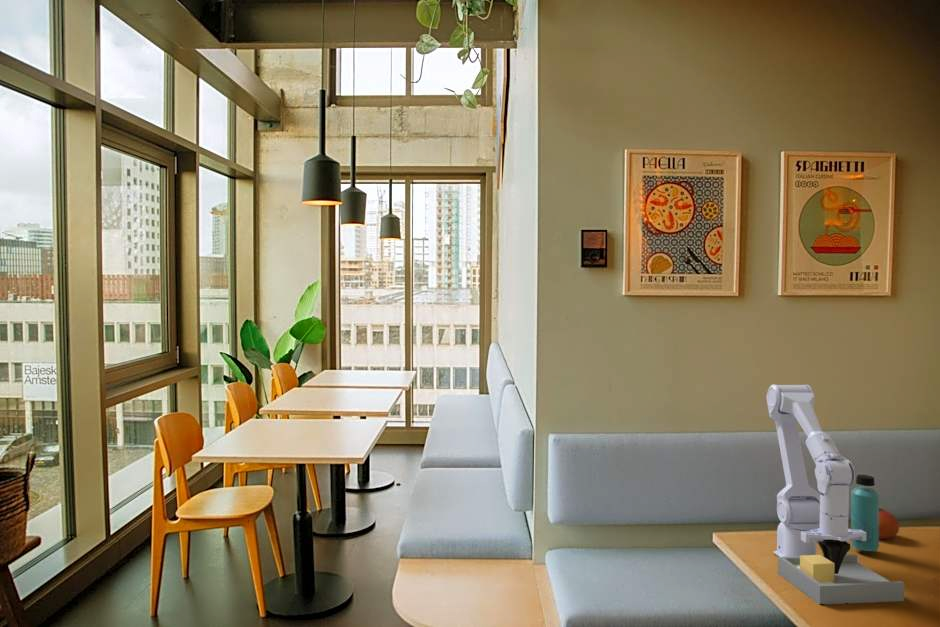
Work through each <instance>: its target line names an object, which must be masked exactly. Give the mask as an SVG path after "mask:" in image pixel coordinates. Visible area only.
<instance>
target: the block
mask: <svg viewBox="0 0 940 627" xmlns="http://www.w3.org/2000/svg"><path fill="white" fill-rule="evenodd" d="M822 555H823V554H817V555H801V556H800V569H801V570H802V571H803V572H805V573H806V574H808V575H809V576H811V577H812V578H814V579H815V580H816V581H818V582H829V581H834V571H835V563H833V562H831V561H830V560H828V559H827V558H825V557H823V556H822Z"/></svg>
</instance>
